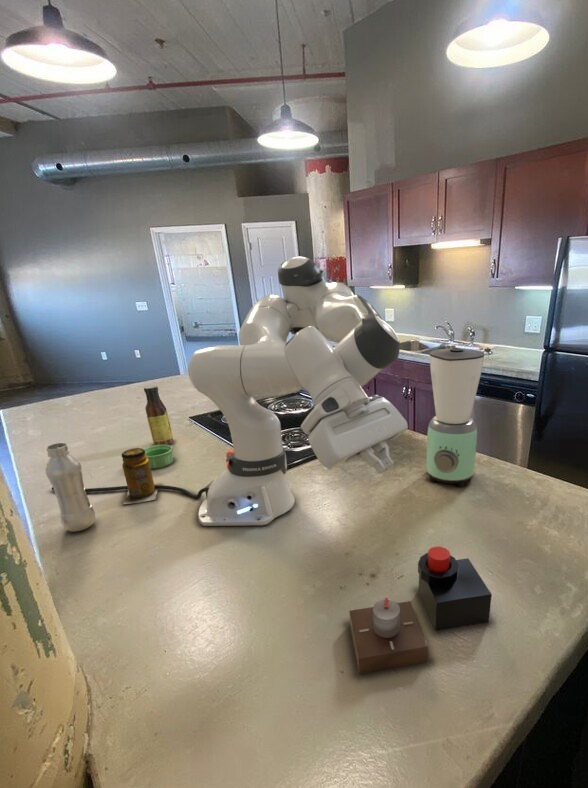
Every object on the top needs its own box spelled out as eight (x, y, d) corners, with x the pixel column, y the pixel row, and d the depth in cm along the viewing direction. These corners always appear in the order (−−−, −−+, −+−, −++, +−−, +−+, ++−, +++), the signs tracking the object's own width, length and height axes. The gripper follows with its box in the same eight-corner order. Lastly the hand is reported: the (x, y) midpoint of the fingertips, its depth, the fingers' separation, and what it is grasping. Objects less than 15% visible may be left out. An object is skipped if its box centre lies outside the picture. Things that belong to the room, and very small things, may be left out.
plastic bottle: (62, 538, 91) (34, 454, 84) (66, 523, 96) (41, 443, 89) (96, 530, 93) (72, 448, 86) (99, 516, 99) (76, 438, 92)
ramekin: (135, 467, 124) (132, 453, 123) (160, 455, 132) (157, 442, 130) (158, 471, 121) (155, 458, 119) (181, 459, 129) (179, 446, 127)
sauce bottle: (177, 442, 142) (166, 385, 135) (160, 448, 137) (148, 390, 130) (166, 438, 146) (154, 383, 139) (149, 444, 141) (136, 387, 134)
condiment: (158, 485, 113) (149, 444, 109) (155, 500, 106) (145, 457, 101) (128, 490, 111) (118, 448, 107) (123, 505, 103) (111, 461, 99)
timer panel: (359, 674, 59) (358, 657, 57) (349, 624, 67) (349, 609, 66) (427, 661, 60) (427, 645, 59) (409, 615, 69) (410, 600, 67)
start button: (431, 574, 67) (432, 561, 66) (424, 560, 71) (425, 547, 70) (452, 571, 68) (453, 558, 67) (444, 557, 71) (445, 545, 70)
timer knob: (400, 638, 60) (400, 618, 59) (372, 637, 61) (372, 617, 59) (399, 617, 64) (399, 597, 63) (373, 616, 64) (373, 597, 63)
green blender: (469, 494, 105) (480, 356, 93) (418, 486, 110) (421, 353, 97) (479, 464, 122) (489, 343, 109) (434, 458, 126) (439, 341, 114)
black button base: (430, 632, 65) (432, 594, 63) (413, 589, 74) (414, 554, 72) (488, 622, 67) (492, 584, 64) (464, 581, 76) (467, 547, 73)
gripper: (371, 401, 84) (410, 458, 81) (292, 429, 69) (337, 499, 67) (389, 383, 79) (431, 442, 77) (309, 409, 65) (357, 483, 62)
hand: (387, 469), depth 72 cm, fingers closed
